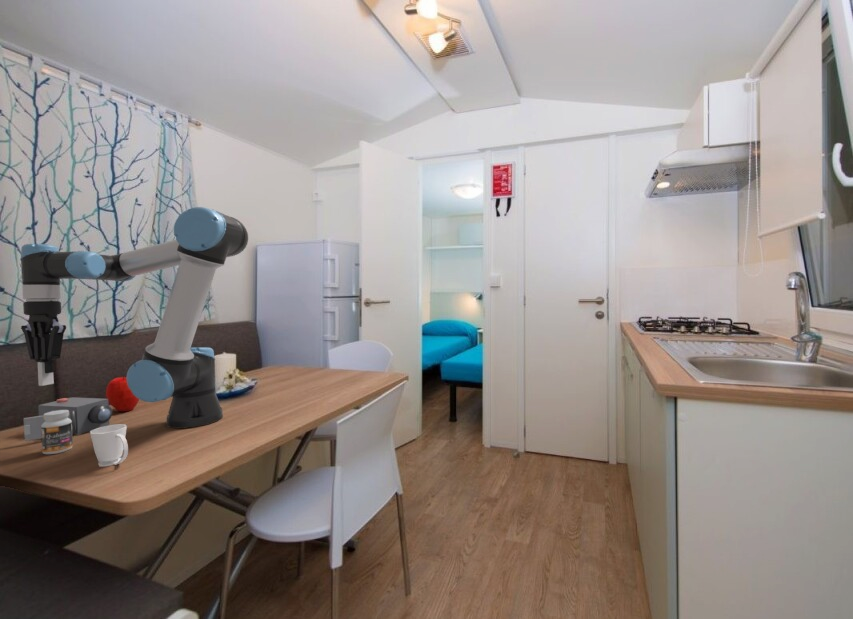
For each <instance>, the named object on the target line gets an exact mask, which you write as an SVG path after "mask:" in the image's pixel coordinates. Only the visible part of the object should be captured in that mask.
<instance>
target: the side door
mask: <svg viewBox="0 0 853 619" xmlns="http://www.w3.org/2000/svg"><path fill="white" fill-rule="evenodd" d="M68 418H69V419H71V421H72V434H74V433H76V428H75V410H72V411H70V412H69V416H68ZM44 422H45V420H44V415H43V416H39V415H37V416H30V417H23V433H24V435H23V436H24V442H30V441H33V440H40V439H41V440H42V432H41V426H42V424H43V423H44Z"/></svg>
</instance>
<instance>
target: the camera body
mask: <svg viewBox="0 0 853 619" xmlns="http://www.w3.org/2000/svg"><path fill="white" fill-rule="evenodd" d="M109 405H110V403H109V402H108V399H107V398H97V397H96V398H95V397H74V396H73V397H63V398H59V399H58V398H57V399H56V401H51V402H46V403H42V404H39V405H38V416H43V415H44V414H45V413H48V412H52V411H57V410H69V412H70V411H72V410H75V428H76V433H74V434H72V436H73V435H75V436H78V435H82V434H85V433H90V431H91V430H94V429H96V428H99V427H103V426H108V425H110V420H111V418H112V415H113V409H112V408H111V406H109Z"/></svg>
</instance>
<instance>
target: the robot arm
mask: <svg viewBox="0 0 853 619" xmlns="http://www.w3.org/2000/svg"><path fill="white" fill-rule="evenodd" d="M173 235H174V236H175V239H173V240H170V241H166V242H161V243H157V244H153V245H150V246H149V245H148V246H144V247H142V248H137V249H133V250H129V251H126V252H125V251H124V252H123V253H117V254H113V255H107V254H99V253H97V252H95V251H88V250H77V251H60V250H59V247H58V246H57V245H52V244H41V243H26V244H24V245H22V246H21V247H20V248H21V249H20V250H21V251H20V259H19V260H20V265H21V281H22V288H21V289H22V299H23V300H25V301H23V305H22V306H23V307H22V308H23V314H24V315H25V316H29V318H28V321H27V322H28V323H27V324H26V325H21V326H20V329H21V331H22V333H23V334H24V339H25V340H24V341H25V343H26V347H27V352H28V356H29V359H30V360H34V362H36V369H37V370H36V371H37V379H38V380H37V381H38V386H39V387H43V386H47V385H49V386H50V385H54V384H55V382H54V372H55V368H54V365H55V364H54V361H56V360H58V359H60V358H61V355H62V347H63V342H64V341H63V339H64V333H65V331H66V329H67V325H65V324H60V323H59V319H58V315H60V314H61V313H62V302H61V301H60V299H61V280H65V279H66V280H67V279H69V280H78V279H79V280H95V281H96V280H97V281H99V280H100V281H114V282H124V281H125V282H128V281H131V280H133V279H134V278H135V277H137V276H140V275H143V274H147V273H153V272H157V271H161V270H166V269H168V268H172V267H173V268H174V267H177V266H178V267H177V270H176V274H175V277H174V280H173V284H172V286H171V290H170V293H169V295H168V296H169V297H168V299H167V302H166V305H165V308H164V311H163V315H162V318H161V320H160V321H161V322H160V324H159V327H158V330H157V334H156V337H155V340H154V342H153V343H151V344H148V345H147V346H145V348H144V351H143V355H142V358H141V359H140V360H138V361H136V362H135V363H133V364H132V365H131V366H130V367H129V368H128V371H127V372H126V377H127V385H128V387H129V389H131V391H132V393H133V395H134V396H136V397H137V398H138V399H139V400H141V401H143V402H146V403H156V402H160V401H166V400H168V399H170V398H172V399H171V402H170V407H169V410H168V414H167V415H166V426H167V427H169V428H173V429H174V428H175V429H185V428H195V427H201V426H205V425H209V424H211V423H214V422H217V421H219V420H221V419H222V418H223V416H224V413H223V412H224V411H223V408H222V406H221V405H220V404H221V403H220V401H219V399H218V396H217V391H216V364H215V363H216V362H215V361H216V358H215V351H214V349H213V348H211V347H206V346H205V347H192V344H193V341H194V338H195V336H196V333H197V329H198V326H199V322H200V319H201V317H202V313H203V310H204V307H205V304H206V301H207V297H208V295H209V292H210V289H211V285H212V283H213V280H214V278H215V277H214V276H215V274H216V271H217V269H218V268H221V267H223V266H225V262H226V259H227V258H230V257H234V256H237V255H240V254H241V253H242V252H244V250H245V249H246V248H247V245H248V242H249V233H248V231H247V228H246V227H245V225H244V224H243V223H242V222H241V221H240V220H239V219H237V218H234V217H232V216H230V215H226V214H224V213H222V212H220V211H218V210H215V209H211V208H207V207H204V206H203V207H202V206H193V207H190V208H188V209H186V210H184V211H183V212H182V213H180V214H179V216H177V218H176V220H175V222H174V225H173Z"/></svg>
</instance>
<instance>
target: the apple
mask: <svg viewBox="0 0 853 619" xmlns="http://www.w3.org/2000/svg"><path fill="white" fill-rule="evenodd" d="M105 399H108V404H109V405H111V407H113V408H114V409H115V410H116V411H118V412H130V411H132V410H134V409H135V407H136V406H137V404H138V403H139V400H140V399H138V398H137V397H136V396H134V395H133V393H132V391H131V389H129V387H128V385H127V376H126V377H125V376H124V375H123V376H122V377H115V378H114V379H111V380H110V381H109V382H108V384H107V386H106V390H105Z"/></svg>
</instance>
